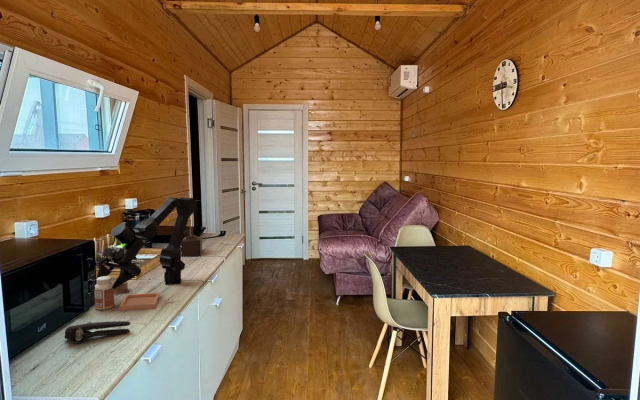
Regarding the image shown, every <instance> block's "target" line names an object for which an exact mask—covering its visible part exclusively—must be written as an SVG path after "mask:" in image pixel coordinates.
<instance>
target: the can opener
mask: <svg viewBox="0 0 640 400" xmlns="http://www.w3.org/2000/svg"><path fill="white" fill-rule="evenodd" d="M130 325H131V322H130V321H128V320H126V321H124V320H122V321H121V320H119V321H117V320H114V321H99V322H92V321H88V322H87V323H82V324H76V325H70V326H68V327H67V328H65V330H64V339H66V340H68V341H69V342H70V343H73V344H81V343H84V342H85V341H87V340H90V339H92V338H95V337H107V336H108V337H109V336H120V335H125V334H128V333H130V331H131V330H130V329H129V328H118V327H127V326H130ZM110 328H113V329H110ZM114 328H117V329H114ZM92 330H95V331H92Z"/></svg>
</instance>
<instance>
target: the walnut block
mask: <svg viewBox="0 0 640 400" xmlns="http://www.w3.org/2000/svg"><path fill="white" fill-rule="evenodd" d="M115 281H116V280H113V281H112V283H113V284H114V282H115ZM128 284H129V283H128V281H126V282H125V283H123V284H121V285H120V286H118V287H117V288H115V289H114V295H118V294H124V293H125V294H126V293H128V292H129V290H128V287H129V285H128Z"/></svg>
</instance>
